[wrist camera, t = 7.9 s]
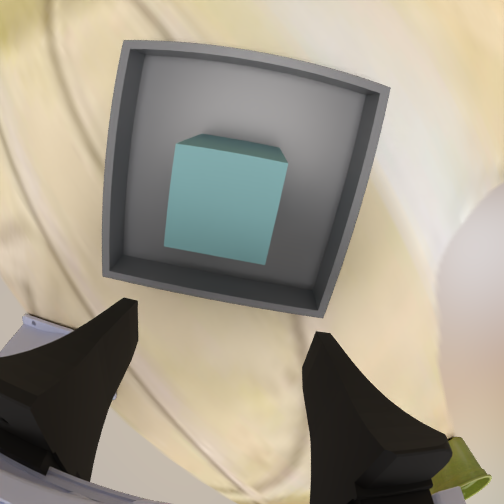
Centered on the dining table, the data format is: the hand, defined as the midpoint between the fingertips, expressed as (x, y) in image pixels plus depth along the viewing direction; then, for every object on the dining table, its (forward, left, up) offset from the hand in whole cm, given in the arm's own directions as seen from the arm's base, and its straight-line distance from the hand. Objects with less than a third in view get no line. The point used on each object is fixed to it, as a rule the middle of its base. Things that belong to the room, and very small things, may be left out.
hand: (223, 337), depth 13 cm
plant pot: (+33, -24, -10) cm, 42 cm away
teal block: (-1, +4, -9) cm, 10 cm away
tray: (-1, +5, -9) cm, 10 cm away
